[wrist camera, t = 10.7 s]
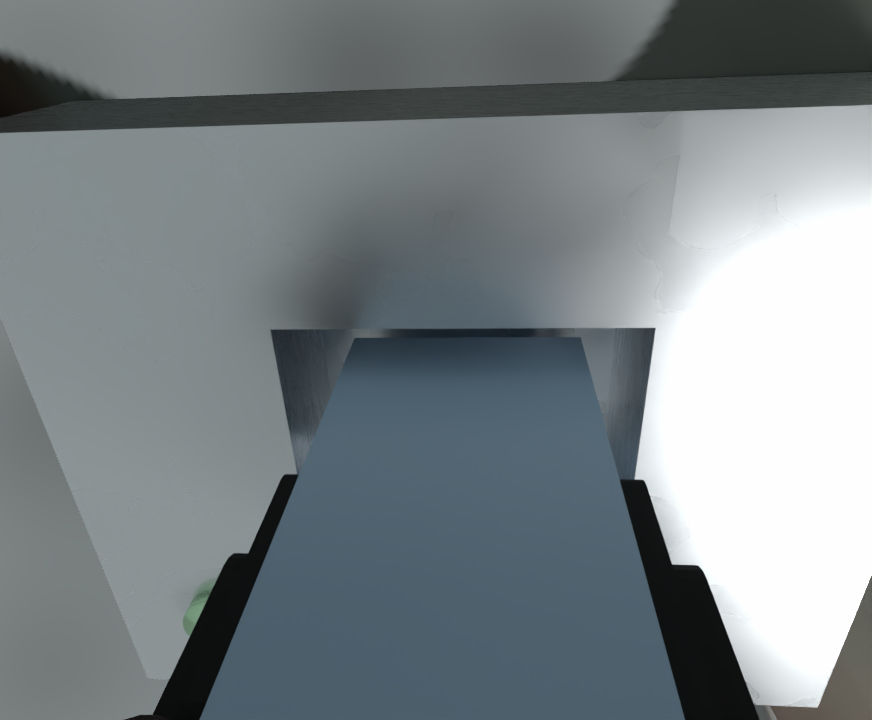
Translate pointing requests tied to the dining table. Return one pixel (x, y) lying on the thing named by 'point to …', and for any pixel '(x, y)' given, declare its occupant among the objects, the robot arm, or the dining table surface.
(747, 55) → the dining table surface
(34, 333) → the port
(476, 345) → the plug
